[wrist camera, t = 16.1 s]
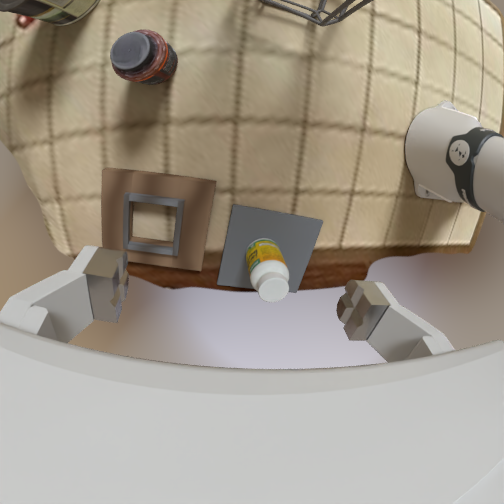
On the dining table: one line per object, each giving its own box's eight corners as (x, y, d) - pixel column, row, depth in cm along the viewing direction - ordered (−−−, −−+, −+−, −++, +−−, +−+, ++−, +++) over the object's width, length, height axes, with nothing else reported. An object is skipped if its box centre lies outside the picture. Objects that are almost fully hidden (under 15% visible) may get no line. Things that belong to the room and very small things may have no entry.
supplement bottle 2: (273, 268, 45) (286, 308, 37) (241, 264, 44) (248, 304, 35) (283, 239, 42) (300, 276, 34) (249, 234, 41) (259, 271, 33)
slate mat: (322, 220, 42) (323, 221, 41) (295, 291, 48) (296, 292, 48) (233, 204, 39) (233, 205, 38) (217, 282, 45) (217, 284, 45)
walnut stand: (216, 180, 37) (215, 186, 35) (201, 265, 43) (200, 274, 41) (106, 167, 33) (99, 172, 31) (106, 252, 40) (101, 260, 38)
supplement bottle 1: (173, 38, 25) (155, 13, 16) (182, 76, 29) (167, 66, 19) (130, 53, 25) (96, 37, 16) (139, 91, 29) (107, 88, 19)
